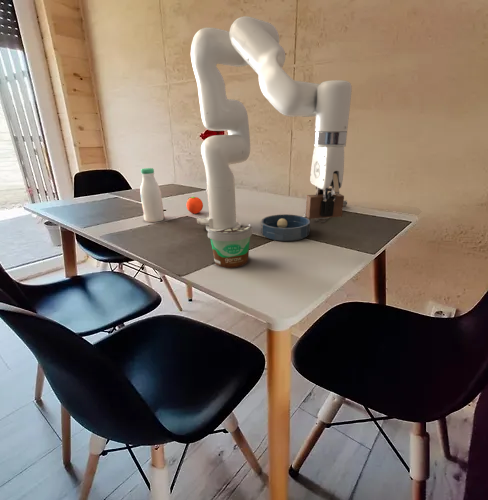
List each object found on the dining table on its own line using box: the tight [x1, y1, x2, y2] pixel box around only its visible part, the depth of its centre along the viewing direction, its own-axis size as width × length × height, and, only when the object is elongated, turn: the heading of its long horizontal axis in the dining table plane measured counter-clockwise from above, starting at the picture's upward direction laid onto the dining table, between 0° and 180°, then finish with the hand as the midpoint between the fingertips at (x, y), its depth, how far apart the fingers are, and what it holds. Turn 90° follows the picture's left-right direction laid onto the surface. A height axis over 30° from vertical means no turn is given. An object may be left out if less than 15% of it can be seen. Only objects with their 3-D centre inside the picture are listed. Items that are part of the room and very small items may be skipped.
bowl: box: [260, 214, 311, 242], centre depth 105 cm, size 16×16×4 cm
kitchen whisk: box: [314, 199, 348, 223], centre depth 126 cm, size 6×34×6 cm, turn 146°
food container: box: [207, 223, 254, 269], centre depth 82 cm, size 12×6×10 cm, turn 114°
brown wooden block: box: [305, 193, 345, 220], centre depth 80 cm, size 9×3×6 cm, turn 101°
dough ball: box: [277, 219, 287, 228], centre depth 109 cm, size 4×4×4 cm
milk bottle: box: [139, 167, 165, 223], centre depth 121 cm, size 8×8×20 cm
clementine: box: [186, 196, 204, 214], centre depth 132 cm, size 8×7×7 cm
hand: (323, 213), depth 81 cm, fingers closed on brown wooden block, 2 cm apart
